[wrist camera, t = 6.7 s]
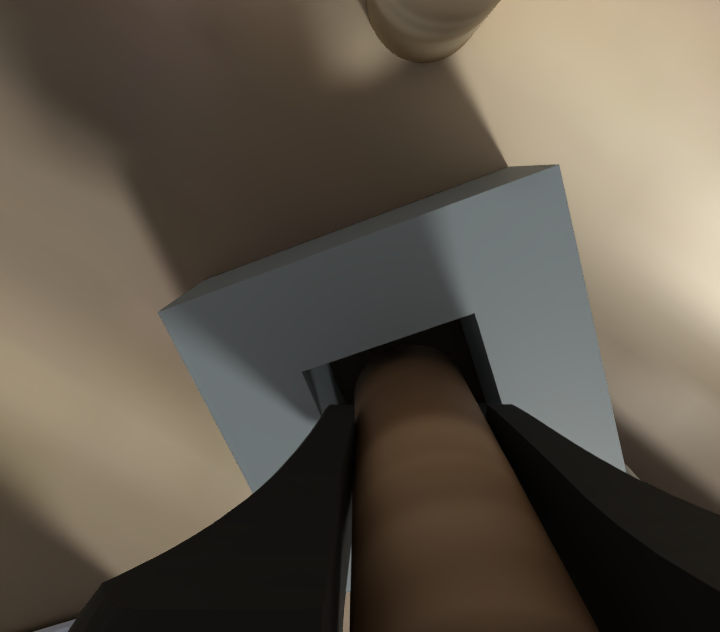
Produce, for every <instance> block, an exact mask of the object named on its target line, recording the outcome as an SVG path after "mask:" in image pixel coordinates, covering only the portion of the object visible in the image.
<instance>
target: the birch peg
mask: <svg viewBox="0 0 720 632" xmlns="http://www.w3.org/2000/svg"><path fill="white" fill-rule="evenodd" d="M499 2H500V0H366V3H367V11H368V15H369V19H370V22H371V24H372V27H373V29H374V31H375V33H376V35H377V36H378V38H379V39H380V41H381V42H382V43H383V44H384V45H385V46H386V48H388V49H389V50H390V51H391V52H392V53H394V54H395V55H397V56H399V57H401V58H403V59H405V60H408V61H412V62H418V63H429V62H435V61H438V60H441V59H444V58H446V57H448V56H450V55H452V54H453V53H455V52H456V51H457V50H459V49H460V48H461V47H462V46H463V45H464V44H465V43H466V42H467V41H468V40H469V38H470V37H471V36H472V35H473V33H474V32H475V31H476V30H477V29H478V27H479V26H480V25H481V24H482V22H483V21H484V20H485V19H486V18H487V16H488V15H489V14H490V13H491V11H492V10H493V9H494V8H495V6H496V5H497V4H498V3H499Z"/></svg>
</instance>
